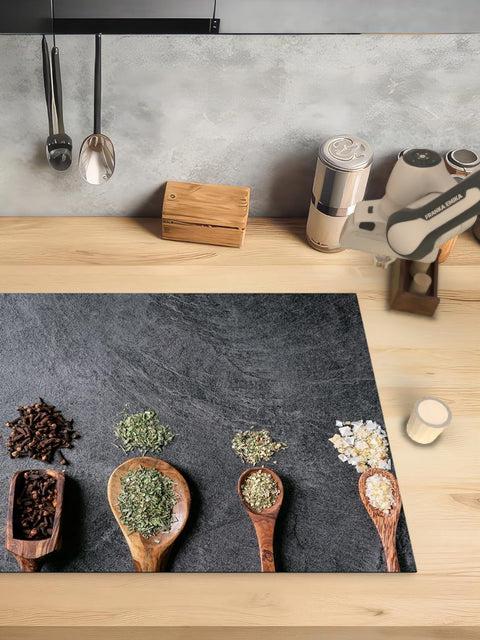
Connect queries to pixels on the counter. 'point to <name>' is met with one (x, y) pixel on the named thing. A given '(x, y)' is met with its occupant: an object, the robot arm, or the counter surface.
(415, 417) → the shot glass
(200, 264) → the counter surface
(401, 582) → the counter surface
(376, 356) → the counter surface
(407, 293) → the spice rack
